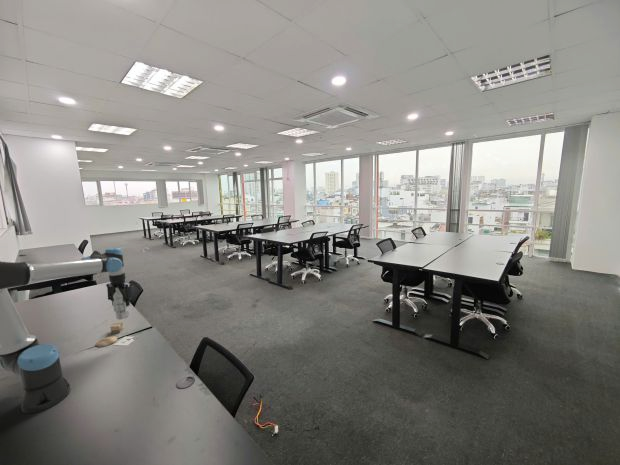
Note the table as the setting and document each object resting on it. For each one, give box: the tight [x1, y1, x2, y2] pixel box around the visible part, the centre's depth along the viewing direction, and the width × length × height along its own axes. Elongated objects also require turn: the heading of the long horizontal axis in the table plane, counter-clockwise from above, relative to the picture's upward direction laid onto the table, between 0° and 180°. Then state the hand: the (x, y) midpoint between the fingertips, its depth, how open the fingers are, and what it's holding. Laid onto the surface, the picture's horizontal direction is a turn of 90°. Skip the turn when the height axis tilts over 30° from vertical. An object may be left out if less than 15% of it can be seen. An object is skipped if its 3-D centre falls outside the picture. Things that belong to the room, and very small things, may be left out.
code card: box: [113, 336, 135, 347], centre depth 155 cm, size 9×9×1 cm
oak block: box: [110, 321, 124, 335], centre depth 166 cm, size 5×5×5 cm
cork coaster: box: [95, 336, 118, 348], centre depth 154 cm, size 10×10×1 cm
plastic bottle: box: [113, 287, 130, 320], centre depth 151 cm, size 6×7×20 cm
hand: (121, 310), depth 152 cm, fingers closed on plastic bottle, 6 cm apart
